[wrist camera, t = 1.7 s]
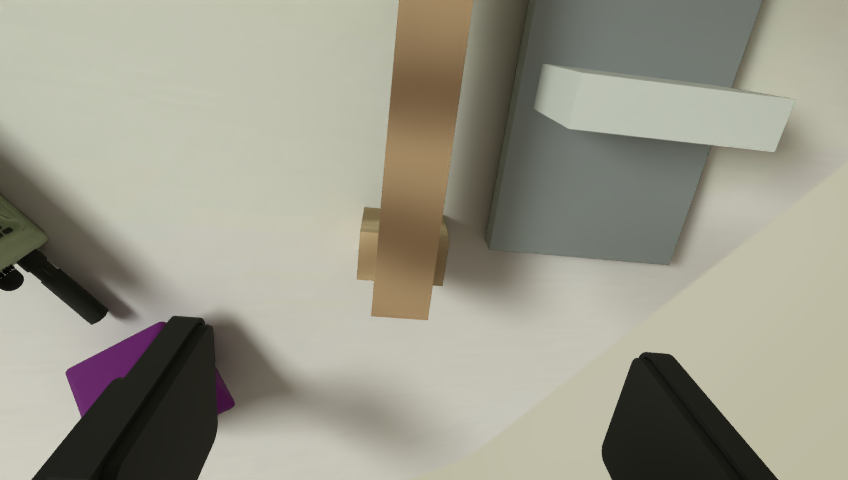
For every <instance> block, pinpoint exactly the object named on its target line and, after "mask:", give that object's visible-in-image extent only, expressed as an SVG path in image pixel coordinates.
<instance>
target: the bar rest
mask: <svg viewBox="0 0 848 480" xmlns="http://www.w3.org/2000/svg"><path fill="white" fill-rule="evenodd" d="M380 210H381V209H378V208H367V207H364V213H363V218H362V224H361V230H360V243H359V256H358V270H357V279H358V280H371V281H374V277H375V266H376V255H377V243H378V232H379V221H380ZM448 246H449V236H448V232H447V228H446V224H445V220H444V216H443V217H442V224H441V231H440V238H439V245H438V252H437V259H436V266H435V273H434V280H433V285H435V286H443V279H444V272H445V266H446V259H447V253H448Z"/></svg>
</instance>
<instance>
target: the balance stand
mask: <svg viewBox="0 0 848 480" xmlns="http://www.w3.org/2000/svg"><path fill="white" fill-rule="evenodd" d="M761 3H762V0H529V3H528V8H527V14H526V19H525V25H524V30H523V35H522V41H521V46H520V52H519V57H518V63H517V68H516V74H515V79H514V85H513V90H512V96H511V101H510V107H509V112H508V118H507V123H506V128H505V134H504V139H503V145H502V150H501V156H500V161H499V167H498V172H497V178H496V183H495V189H494V194H493V200H492V205H491V211H490V216H489V222H488V227H487V232H486V238H485V241H486V243H487V246H488V248H489V250H500V251H511V252H523V253H535V254H546V255H558V256H569V257H581V258H592V259H604V260H616V261H627V262H639V263H650V264H662V265H669V264H670V261H671V259H672V256H673V253H674V250H675V247H676V244H677V242H678V239H679V236H680V233H681V230H682V227H683V224H684V222H685V219H686V216H687V213H688V210H689V207H690V205H691V202H692V199H693V196H694V193H695V190H696V188H697V185H698V182H699V179H700V176H701V173H702V170H703V168H704V165H705V162H706V159H707V156H708V153H709V151H710V148H711V145H715V146H724V147H733V148H742V149H751V150H760V151H769V152H775V150H776V147H777V145H778V143H779V140H780V138H781V135H782V133H783V130H784V128H785V125H786V123H787V120H788V118H789V115H790V113H791V110H792V108H793V105H794V103H795V101H796V99H790V98H785V97H779V96H773V95H768V94H762V93H756V92H751V91H745V90H740V89H734V88H732V85H733V82H734V79H735V77H736V74H737V71H738V68H739V65H740V62H741V59H742V57H743V54H744V51H745V48H746V45H747V42H748V40H749V37H750V34H751V31H752V28H753V25H754V22H755V20H756V17H757V14H758V11H759V8H760V5H761Z"/></svg>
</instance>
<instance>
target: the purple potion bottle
mask: <svg viewBox="0 0 848 480" xmlns="http://www.w3.org/2000/svg"><path fill="white" fill-rule="evenodd" d="M165 325H166V322H158V323H156V324H154V325H153V326H151V327H149V328H147V329H145V330H143V331H141V332H139V333H137V334H135V335H133V336H131V337H129V338H127V339H125V340H123V341H121V342H119V343H118V344H116V345H114V346H112V347H110V348H108V349H106V350H104V351H102V352H100V353H98V354H96V355H94V356H92V357H90V358H88V359H86V360H84V361H83V362H81V363H79V364H77V365H75V366H73V367H71V368H69V369H67V371H66V376H67V379H68V382H69V384H70V387H71V390H72V392H73V395H74V398H75V401H76V403H77V406H78V409H79V412H80V415H81V417H83V416H84V414H85V413H86V412H87V411H88V409H89V408H90V407H91V406H92V404H93V403H94V402H95V401H96V399H97V398H98V397H99V396H100V395H101V393H102V392H103V391H104V390H105V388H106V387H107V386H108V385H109V384H110V383H111V382H112V381H113V380H114V379H116V378H118V377H125V376H126V375H127V373H128V372H129V371H130V370H131V368H132V367H133V366H134V364H135V363H136V362H137V361H138V359H139V358H140V357H141V355H142V354H143V353H144V352H145V350H146V349H147V348H148V347H149V345H150V344H151V343H152V341H153V340H154V339H155V338H156V336H157V335H158V334H159V332H160V331H161V330H162V329H163V327H164V326H165ZM215 376H216V397H217V415H218V414H220V413H222V412H224V411H226V410H229V409H231V408H232V407H233V406H234V405H235V402H234V400H233V398H232V396H231V394H230V392H229V391H228V389H227V387H226V385H225V383H224V381H223V380H222V378H221V376H220V374H219V372H218V370H217V369H216V367H215Z"/></svg>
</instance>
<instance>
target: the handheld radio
mask: <svg viewBox="0 0 848 480" xmlns="http://www.w3.org/2000/svg"><path fill="white" fill-rule="evenodd" d="M47 240H48V237H47V236H46V234H45V233H44V232H42V231H41V230H40V229H39V228H38V227H37V226H36V225H34V224H33V223H32V222H31V221H30V220H29V219H28V218H26V217H25V216H24V215H23V214H22V213H21V212H19V211H18V210H17V209H16V208H15V207H14V206H13V205H11V204H10V203H9V202H8V201H7V200H6V199H4V198H3V197H2V196H1V195H0V289H2V290H4V291H12V290H15V289H17V288H19V287H20V286H21V285H22V284H23V281H24V277H23V275H22V274H21V273H20V272H19V271H18V270H16V269H15V268H14V267H13V265H14V264H16V263H17V264H18V265H19V266H20V267H22V268H23V269H24V270H25V271H27V272H31V273H32V274H33V275H35V276H36V277H37V278H38V279H39V280H41V281H42V282H41V283H42V284H43V285H45V286H46V287H47V288H48V289H49V290H51V291H52V292H53V293H54V294H55V295H56V296H58V297H59V298H60V299H61V300H62V301H64V302H65V303H66V304H67V305H68V306H70V307H71V308H72V309H73V310H74V311H76V312H77V313H78V314H79V315H80V316H81V317H83V318H84V319H85V320H86V321H87V322H89V323H90V324H91V325H92V324H94V323H97V322H99V321H100V320H101V319H103V318H104V317H105V316H106V314H107V312H108V309H107V308H106V307H105V306H103V305H102V304H101V303H100V302H99V301H98V300H96V299H95V298H94V297H93V296H92V295H90V294H89V293H88V292H87V291H86V290H85V289H83V288H82V287H81V286H80V285H79V284H77V283H76V282H75V281H74V280H73V279H72V278H70V277H69V276H68V275H67V274H66V273H65V272H63V271H62V270H61V269H60V268H59V269H57V268H56V267H54V266H53V265H52V264H51V263H50V262H48V261H47V260H46V259H47V257H46V256H44V255H43V254H42V253H41V252H40V251H39V250H37V249H38V248H39V247H41V246H42V245H43V244H44V243H46V242H47ZM11 269H13V270H11ZM10 271H11V272H10ZM3 273H4V274H5V275H4V274H3ZM7 273H8V274H7Z"/></svg>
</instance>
